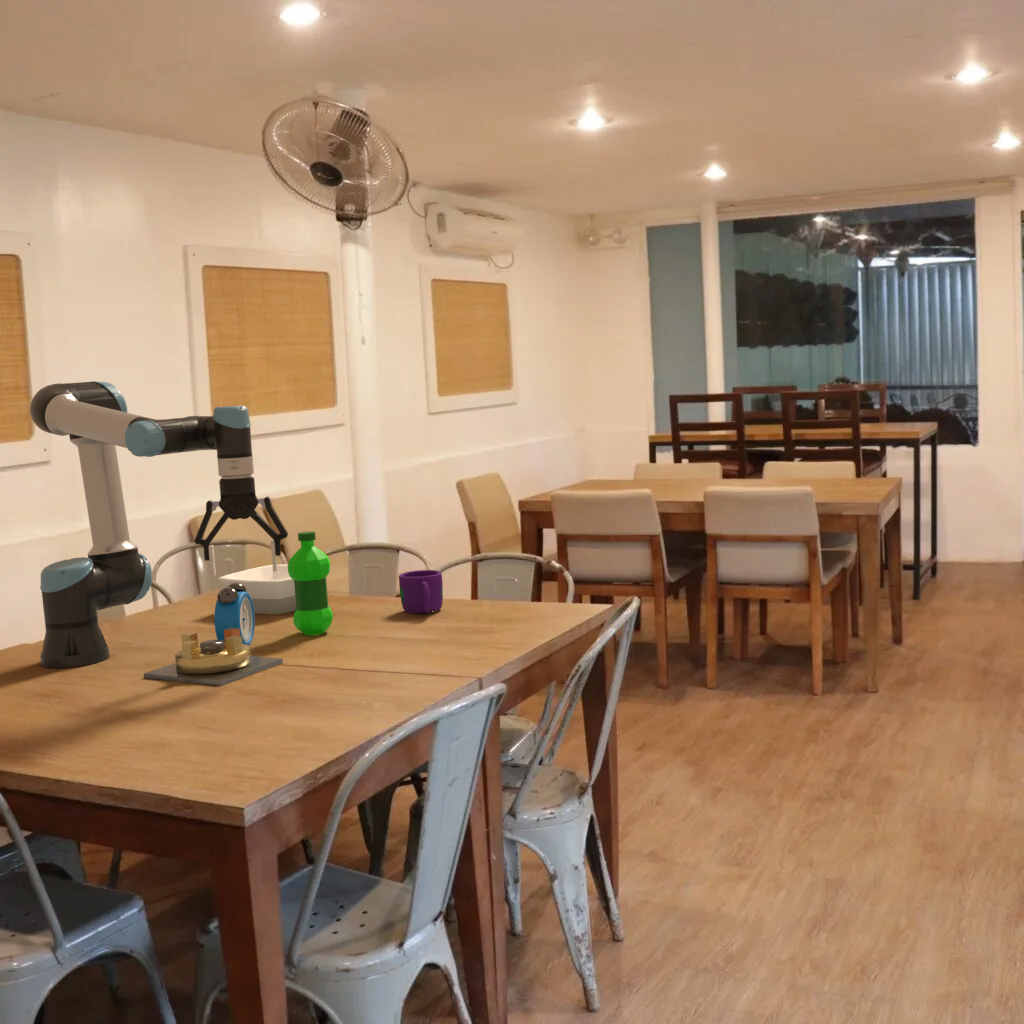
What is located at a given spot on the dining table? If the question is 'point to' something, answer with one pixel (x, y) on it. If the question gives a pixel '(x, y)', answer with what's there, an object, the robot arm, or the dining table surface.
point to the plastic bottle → (310, 586)
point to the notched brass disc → (212, 654)
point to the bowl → (266, 588)
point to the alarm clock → (234, 612)
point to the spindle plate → (214, 678)
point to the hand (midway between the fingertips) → (244, 572)
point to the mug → (421, 591)
